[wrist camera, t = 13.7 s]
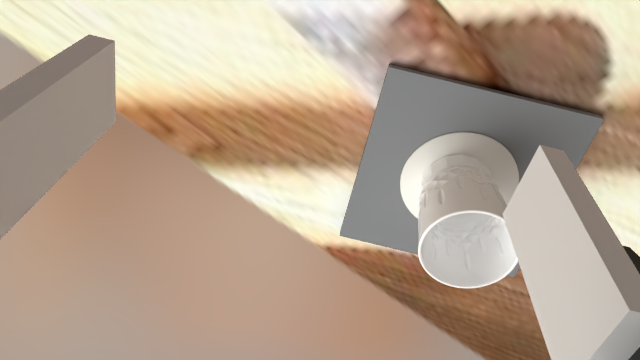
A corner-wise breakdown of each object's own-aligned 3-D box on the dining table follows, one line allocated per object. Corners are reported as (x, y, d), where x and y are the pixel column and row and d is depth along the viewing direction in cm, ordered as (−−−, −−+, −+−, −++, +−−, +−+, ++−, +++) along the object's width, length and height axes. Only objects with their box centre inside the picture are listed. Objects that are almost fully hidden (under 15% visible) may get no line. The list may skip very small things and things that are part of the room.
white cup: (396, 185, 49) (397, 250, 40) (458, 131, 45) (473, 192, 37) (453, 230, 51) (465, 303, 42) (517, 183, 47) (543, 252, 39)
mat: (340, 231, 54) (339, 236, 53) (389, 64, 44) (389, 67, 43) (512, 272, 54) (514, 278, 53) (601, 115, 44) (605, 120, 43)
